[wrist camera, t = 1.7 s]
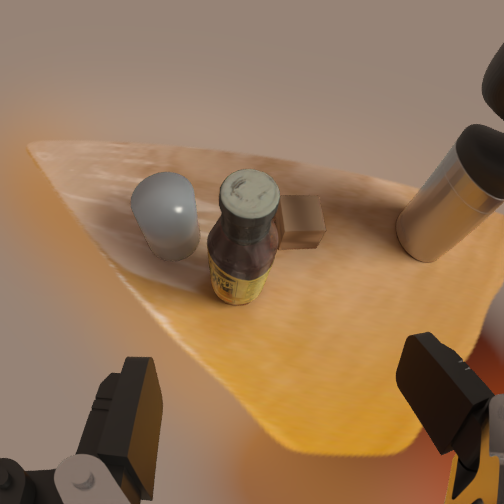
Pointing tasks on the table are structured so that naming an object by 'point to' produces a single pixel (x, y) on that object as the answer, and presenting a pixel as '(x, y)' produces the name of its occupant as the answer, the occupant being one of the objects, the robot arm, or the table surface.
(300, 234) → the walnut block
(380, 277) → the table surface
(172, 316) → the table surface
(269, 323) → the table surface
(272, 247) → the sauce bottle
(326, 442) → the table surface
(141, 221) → the grey rounded cylinder
